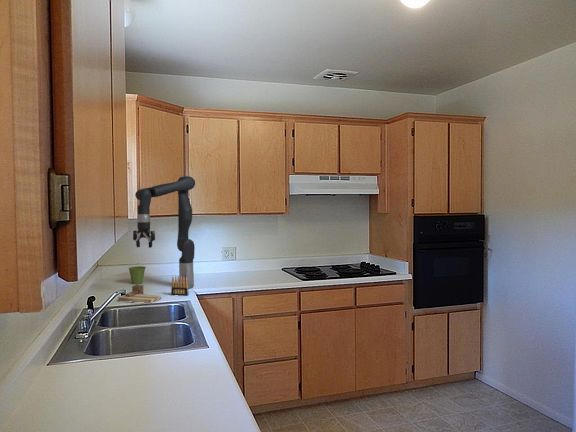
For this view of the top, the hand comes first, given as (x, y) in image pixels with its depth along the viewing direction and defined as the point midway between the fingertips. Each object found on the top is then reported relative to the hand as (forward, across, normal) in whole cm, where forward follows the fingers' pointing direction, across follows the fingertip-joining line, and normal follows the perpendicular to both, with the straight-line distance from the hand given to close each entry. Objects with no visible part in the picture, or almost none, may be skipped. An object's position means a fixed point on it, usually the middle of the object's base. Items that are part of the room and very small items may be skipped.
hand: (144, 247), depth 247 cm
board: (+30, -5, +12) cm, 33 cm away
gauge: (+30, +2, +9) cm, 32 cm away
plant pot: (+30, +27, -29) cm, 50 cm away
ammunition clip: (+30, -21, -6) cm, 37 cm away
